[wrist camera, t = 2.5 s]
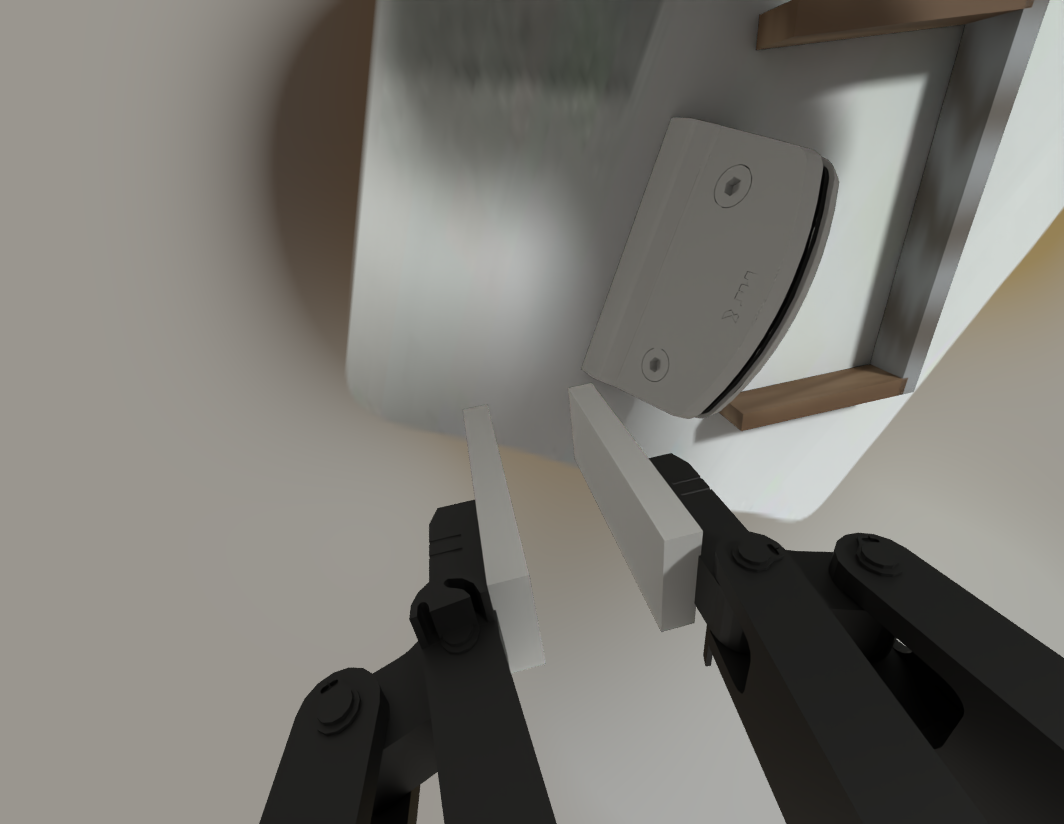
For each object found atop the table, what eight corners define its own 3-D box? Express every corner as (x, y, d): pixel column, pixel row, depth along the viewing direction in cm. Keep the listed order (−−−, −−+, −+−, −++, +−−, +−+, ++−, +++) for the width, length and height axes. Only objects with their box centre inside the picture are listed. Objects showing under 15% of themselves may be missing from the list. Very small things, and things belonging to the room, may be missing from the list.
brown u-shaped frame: (759, 15, 24) (799, -4, 21) (997, -13, 26) (1060, -33, 23) (719, 412, 37) (741, 431, 34) (881, 376, 38) (913, 391, 36)
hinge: (674, 109, 25) (852, 113, 18) (721, 137, 28) (892, 151, 21) (579, 374, 32) (681, 451, 25) (624, 376, 35) (728, 447, 28)
